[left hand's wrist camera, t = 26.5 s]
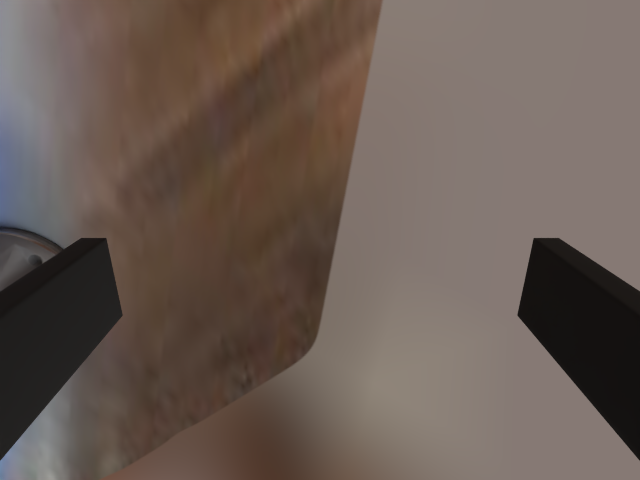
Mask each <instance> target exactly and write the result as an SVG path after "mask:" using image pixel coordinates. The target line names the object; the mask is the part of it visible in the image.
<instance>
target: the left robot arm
mask: <svg viewBox="0 0 640 480" xmlns="http://www.w3.org/2000/svg"><path fill="white" fill-rule="evenodd" d="M121 317H122V310H121V306H120V301H119V296H118V291H117V287H116V282H115V277H114V273H113V268H112V263H111V258H110V254H109V249H108V244H107V240H106V238H81V239H79V240H78V241H76V242H75V243H73V244H72V245H70V246H69V247H67V248H65V249H64V250H63V249H62V248H60V247H59V246H57V245H56V244H54V243H52V242H51V241H49V240H47V239H45V238H43V237H41V236H38V235H36V234H33V233H30V232H27V231H23V230H18V229H9V228H0V460H1V459H2V458H3V457H4V456H5V454H6V453H7V452H8V451H9V450H10V448H11V447H12V446H13V445H14V444H15V442H16V441H17V440H18V439H19V438H20V437H21V435H22V434H23V433H24V432H25V431H26V429H27V428H28V427H29V426H30V425H31V423H32V422H33V421H34V420H35V419H36V418H37V416H38V415H39V414H40V413H41V412H42V410H43V409H44V408H45V407H46V406H47V404H48V403H49V402H50V401H51V400H52V399H53V397H54V396H55V395H56V394H57V393H58V391H59V390H60V389H61V388H62V387H63V385H64V384H65V383H66V382H67V381H68V380H69V378H70V377H71V376H72V375H73V374H74V372H75V371H76V370H77V369H78V368H79V366H80V365H81V364H82V363H83V362H84V361H85V359H86V358H87V357H88V356H89V355H90V353H91V352H92V351H93V350H94V349H95V347H96V346H97V345H98V344H99V343H100V342H101V340H102V339H103V338H104V337H105V336H106V334H107V333H108V332H109V331H110V330H111V328H112V327H113V326H114V325H115V324H116V323H117V321H118V320H119V319H120V318H121ZM518 317H519V318H520V319H521V320H522V321H523V323H524V324H525V325H526V326H527V327H528V328H529V330H530V331H531V332H532V333H533V334H534V336H535V337H536V338H537V339H538V340H539V342H540V343H541V344H542V345H543V346H544V347H545V349H546V350H547V351H548V352H549V353H550V355H551V356H552V357H553V358H554V359H555V361H556V362H557V363H558V364H559V365H560V366H561V368H562V369H563V370H564V371H565V372H566V374H567V375H568V376H569V377H570V378H571V380H572V381H573V382H574V383H575V384H576V385H577V387H578V388H579V389H580V390H581V391H582V393H583V394H584V395H585V396H586V397H587V398H588V400H589V401H590V402H591V403H592V404H593V406H594V407H595V408H596V409H597V410H598V412H599V413H600V414H601V415H602V416H603V417H604V419H605V420H606V421H607V422H608V423H609V425H610V426H611V427H612V428H613V429H614V431H615V432H616V433H617V434H618V435H619V437H620V438H621V439H622V440H623V441H624V442H625V444H626V445H627V446H628V447H629V448H630V450H631V451H632V452H633V453H634V454H635V455H636V457H637V458H638V459H639V460H640V291H638V290H637V289H635V288H634V287H632V286H631V285H629V284H628V283H626V282H625V281H623V280H622V279H620V278H619V277H617V276H615V275H614V274H612V273H611V272H609V271H608V270H606V269H605V268H603V267H602V266H600V265H599V264H597V263H596V262H594V261H593V260H591V259H590V258H588V257H587V256H585V255H584V254H582V253H581V252H579V251H578V250H576V249H575V248H573V247H571V246H570V245H568V244H567V243H565V242H564V241H562V240H561V239H559V238H534V240H533V244H532V249H531V254H530V258H529V263H528V268H527V273H526V277H525V282H524V287H523V291H522V296H521V301H520V306H519V310H518Z"/></svg>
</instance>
